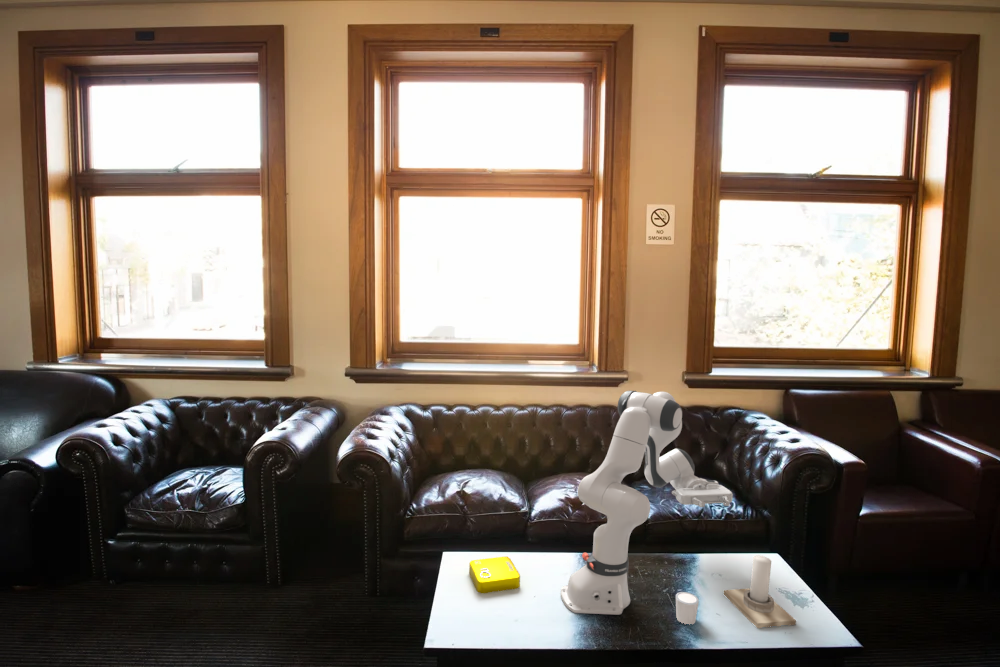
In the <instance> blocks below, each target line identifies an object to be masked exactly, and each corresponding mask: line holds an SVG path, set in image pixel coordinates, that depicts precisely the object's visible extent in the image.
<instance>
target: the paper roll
mask: <svg viewBox="0 0 1000 667" xmlns="http://www.w3.org/2000/svg"><path fill="white" fill-rule="evenodd" d="M771 569H772V560H771V559H770V558H769V557H767V556H764V555H761V554H760V555H759V554H758V555H753V559H752V567H751V577H750V578H751V580H750V599H751V600H753V601H755V602H758V603H767V602H768V594H769V590H770V582H771V581H770V580H771Z"/></svg>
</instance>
